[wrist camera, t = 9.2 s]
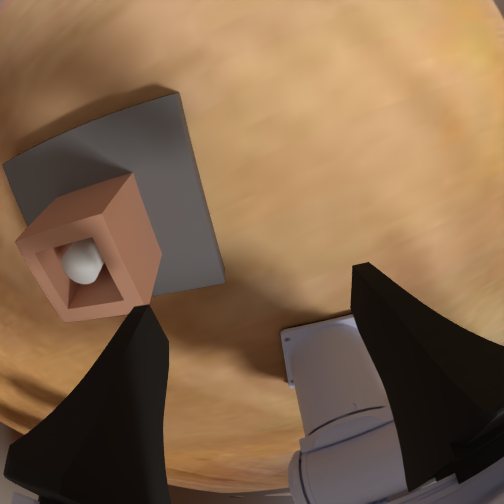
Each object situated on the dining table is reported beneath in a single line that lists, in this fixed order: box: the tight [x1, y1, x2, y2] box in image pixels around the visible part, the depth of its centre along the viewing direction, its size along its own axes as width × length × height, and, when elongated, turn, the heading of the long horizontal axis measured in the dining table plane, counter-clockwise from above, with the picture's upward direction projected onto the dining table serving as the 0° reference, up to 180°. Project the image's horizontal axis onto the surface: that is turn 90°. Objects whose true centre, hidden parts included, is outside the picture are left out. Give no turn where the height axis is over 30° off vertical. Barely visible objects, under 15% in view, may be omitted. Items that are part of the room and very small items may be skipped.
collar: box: [15, 173, 162, 323], centre depth 15 cm, size 5×5×5 cm
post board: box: [2, 92, 225, 296], centre depth 15 cm, size 12×12×6 cm
